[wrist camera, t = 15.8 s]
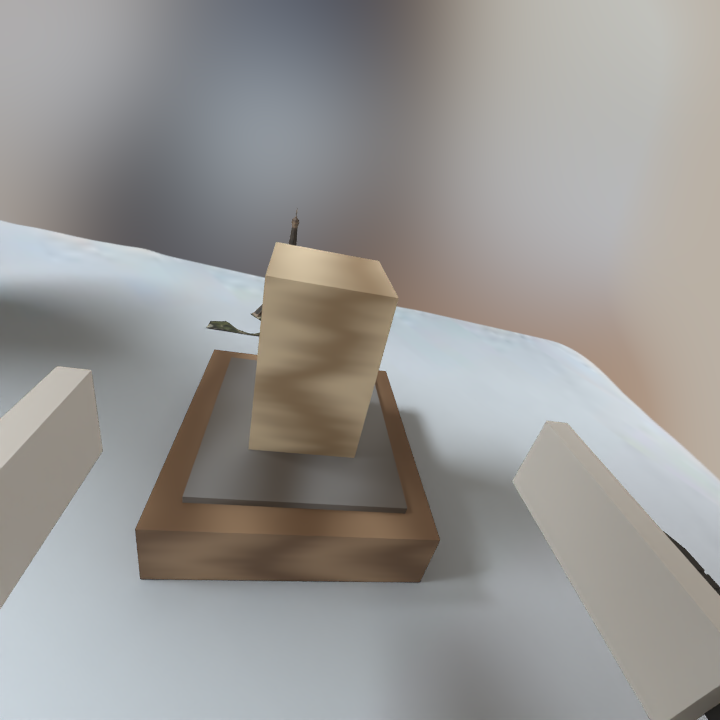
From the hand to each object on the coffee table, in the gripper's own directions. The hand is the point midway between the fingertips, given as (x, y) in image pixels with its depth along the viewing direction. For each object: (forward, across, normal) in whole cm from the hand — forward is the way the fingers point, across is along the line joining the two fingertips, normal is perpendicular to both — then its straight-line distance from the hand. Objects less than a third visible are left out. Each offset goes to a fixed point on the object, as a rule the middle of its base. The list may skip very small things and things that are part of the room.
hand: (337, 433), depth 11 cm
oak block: (+11, 0, -8) cm, 13 cm away
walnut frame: (+11, 0, -12) cm, 16 cm away
